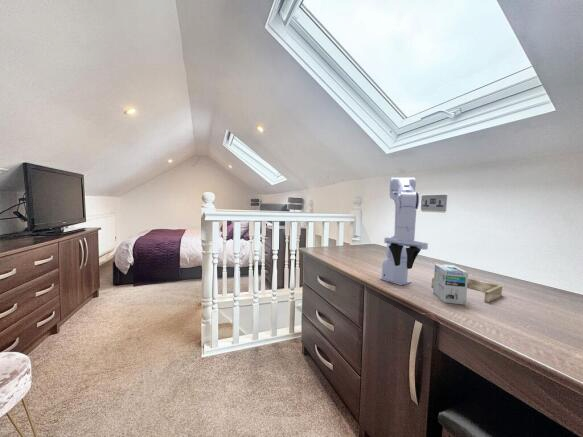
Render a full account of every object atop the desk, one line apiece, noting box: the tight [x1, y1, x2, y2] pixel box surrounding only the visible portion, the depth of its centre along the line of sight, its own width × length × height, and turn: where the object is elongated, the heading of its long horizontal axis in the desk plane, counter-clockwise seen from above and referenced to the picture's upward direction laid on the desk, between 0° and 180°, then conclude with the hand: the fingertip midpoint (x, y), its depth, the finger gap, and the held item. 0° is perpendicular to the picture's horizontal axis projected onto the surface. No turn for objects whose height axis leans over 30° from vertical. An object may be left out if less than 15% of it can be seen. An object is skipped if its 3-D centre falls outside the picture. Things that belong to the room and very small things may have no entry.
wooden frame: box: [431, 277, 503, 304], centre depth 94 cm, size 18×14×4 cm
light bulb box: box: [432, 263, 469, 306], centre depth 86 cm, size 11×7×11 cm, turn 168°
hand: (403, 266), depth 87 cm, fingers open, 4 cm apart
